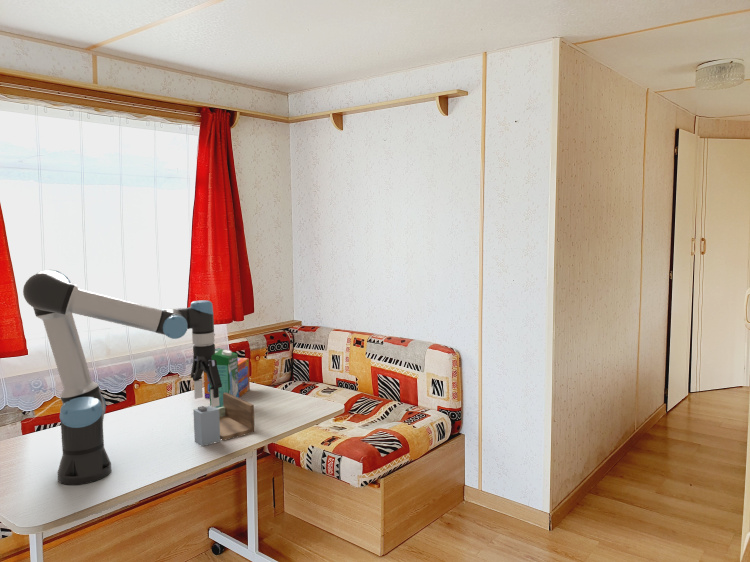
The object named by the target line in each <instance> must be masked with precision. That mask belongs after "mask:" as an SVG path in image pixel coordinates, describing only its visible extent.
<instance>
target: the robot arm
mask: <svg viewBox="0 0 750 562" xmlns="http://www.w3.org/2000/svg"><path fill="white" fill-rule="evenodd" d="M22 289H23V290H22V294H23V298H24V299H25V302H26V303H27V304H28V305H29V306H31V307H32V308H33V311H34V314H35V317H36V318H38V319H40V320H41V321H42V322H43V325H44V328H45V332H46V335H47V338H48V342H49V345H50V348H51V351H52V355H53V358H54V361H55V365H56V367H57V372H58V374H59V378H60V381H61V384H62V387H63V388H62V392H61V393H60V394H59V395H60V400H61V403H62V405H61V407H60V409H59V410H60V411H59V420H60V431H61V432H60V433H61V445H62V446H61V449H62V450H61V451H62V454H61V455H62V456H61V459H60V462H59V467H58V469H57V472H56V473H57V482H59V483H61V484H64V485H69V486H70V485H73V486H74V485H75V486H77V485H85V484H89V483H92V482H96V481H99V480H101V479H103V478H106V477H107V476H109V474H110V473H111V471H112V462H111V460H110V457H109V456H108V453H107V450H106V449H105V444H104V442H105V441H104V418H105V414H106V411H107V403H106V402H107V401H106V400H105V397H104V396H103V395H102V392H101V389H100V385H99V383H97V382H95V381H94V380H92V377H91V374H90V369H89V366H88V363H87V359H86V356H85V353H84V349H83V347H82V343H81V339H80V336H79V332H78V329H77V325H76V321H75V319H74V316H73V314H75V315H80V316H84V317H89V318H93V319H97V320H101V321H105V322H110V323H113V324H118V325H123V326H127V327H130V328H131V327H132V328H136V329H140V330H143V331H149V332H153V333H157V334H160V335H163V336H166V337H167V338H169V339H175V340H177V339H180V338H182V337H184V336H185V334H186V333H187V331H188V330H191V335H192V337H191V338H192V339H191V340H192V344H193V346H192V351H193V352H192V354H193V355H192V356H193V357H192V359H193V360H192V366H191V372H190V378H191V379H192V380H193V387H194V391H193V392H194V399H195V400H197V399H201V398H203V380H202V379H203V377H202V375H203V374H204V372H205V373H206V374H207V377H208V379H209V382H210V385H211V388H210V390H211V407H216V406H220V405H219V388H220V387H222V384H221V380H220V376H219V372H218V368H217V361H216V360H212V357H211V356H212V355H214V354H215V349H216V345H215V335H216V333H215V322H214V321H215V319H214V306H213V302H212V301H210V300H204V299H202V300H193V301H192V302H191V303H190V306H189V307H182V308H181V307H180V308H179V307H178V308H164V309H158V308H155V307H150V306H146V305H142V304H140V303H135V302H131V301H127V300H123V299H120V298H115V297H111V296H108V295H104V294H100V293H96V292H92V291H89V290H84V289H82V288H81V289H80V288H79V287H78V285H77V284H74V283H71V280H70V279H69V278H68V276H67V275H65V274H64V273H62V272H61V271H58V270H54V269H47V270H45V269H44V270H42V271H39V272H37V273H35V274H33V275H31V276H29V278H28V279H27V280H26V282H25V283H24V285H23V288H22Z"/></svg>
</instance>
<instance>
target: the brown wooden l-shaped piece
mask: <svg viewBox="0 0 750 562" xmlns="http://www.w3.org/2000/svg"><path fill="white" fill-rule="evenodd" d="M218 409H219V420H220V440H221V439H222V440H221V441H226V440H225V439H227V440H230V439H229V438H231V439H234V438H238V437H241V435H242V436H245V435H249V434H252V433H255V429H256V428H255V407H254V404H253V403H251V402H248V401H246V400H244V399H242V398H241V397H239V398H238V397H235V396H233V395H231V394H229V393H227V392H226V393H223V407H219V408H218ZM248 433H249V434H248ZM244 434H245V435H244ZM237 436H238V437H237ZM233 437H234V438H233Z"/></svg>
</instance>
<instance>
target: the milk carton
mask: <svg viewBox="0 0 750 562" xmlns="http://www.w3.org/2000/svg"><path fill="white" fill-rule="evenodd" d="M211 357H212V360H216V361H217V368H218V372H219V376H220V380H221V384H222V387H220V388H219V405H220V406H216V408H219V407H223V393H226V392H227V393H229V394H231V395H233V396H235V397H238V398H240V397H239V387H238V358H239V357H238V353H237V352H233V351H232V350H229V349H223V348H220V347H217V348H215V354H214V355H212V356H211ZM209 385H210V382H209ZM210 388H211V385H210ZM209 402H210V403H209V406H211V390H210V398H209Z"/></svg>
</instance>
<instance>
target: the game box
mask: <svg viewBox="0 0 750 562" xmlns="http://www.w3.org/2000/svg"><path fill="white" fill-rule="evenodd" d="M249 362H250V359H249V358H247V357H238V387H239V398H241V397H242V396H243V395H245V394H246V393H247V392H249V391H250V390H251V389H250V388H251V385H250V363H249ZM203 390H204V399H210V385H209V379H208V377H207V374H206V373H205V372H204V371H203Z"/></svg>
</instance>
